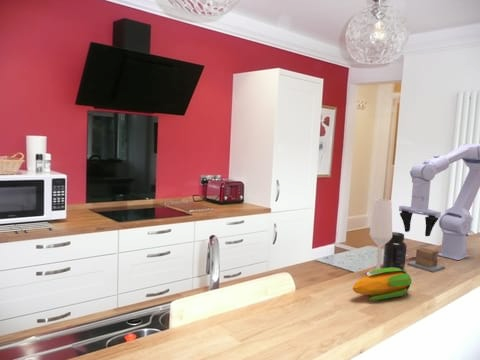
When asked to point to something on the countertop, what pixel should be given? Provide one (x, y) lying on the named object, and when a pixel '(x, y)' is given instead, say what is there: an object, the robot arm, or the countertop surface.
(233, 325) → the countertop surface
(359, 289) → the corn
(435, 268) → the slate coaster
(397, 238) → the supplement bottle
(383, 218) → the champagne flute
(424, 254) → the walnut cube
